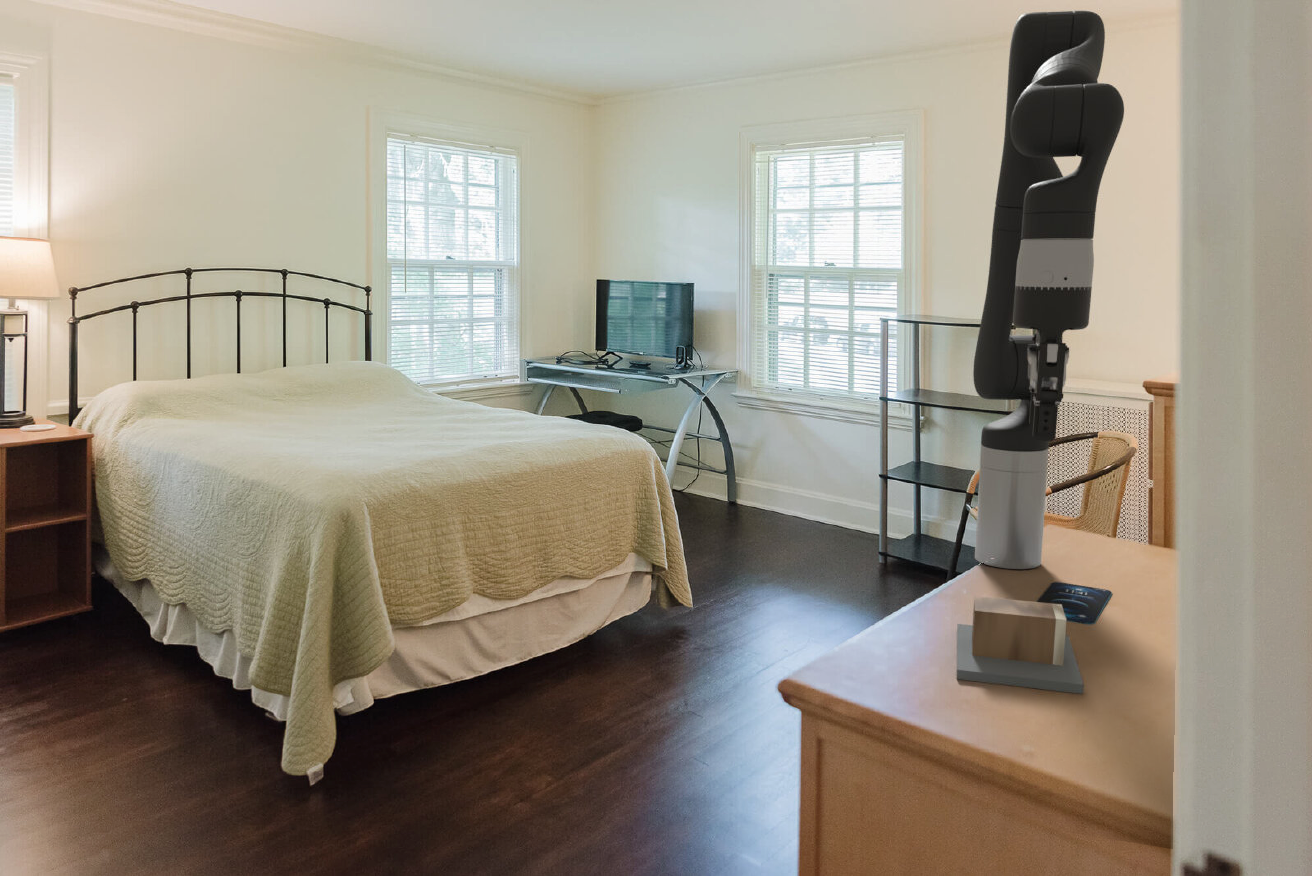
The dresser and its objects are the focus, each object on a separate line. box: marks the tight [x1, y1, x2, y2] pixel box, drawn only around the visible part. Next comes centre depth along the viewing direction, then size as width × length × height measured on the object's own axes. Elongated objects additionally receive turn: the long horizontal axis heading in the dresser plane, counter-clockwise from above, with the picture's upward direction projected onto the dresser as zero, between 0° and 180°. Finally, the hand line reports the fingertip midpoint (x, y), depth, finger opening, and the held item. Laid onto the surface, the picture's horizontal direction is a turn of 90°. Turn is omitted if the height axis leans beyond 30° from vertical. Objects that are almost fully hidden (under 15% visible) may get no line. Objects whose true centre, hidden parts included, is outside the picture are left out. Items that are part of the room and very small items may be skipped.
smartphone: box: [1036, 581, 1113, 626], centre depth 120 cm, size 8×1×15 cm
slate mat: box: [956, 623, 1084, 695], centre depth 101 cm, size 14×12×1 cm
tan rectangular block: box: [972, 595, 1067, 666], centre depth 101 cm, size 5×5×9 cm
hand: (1041, 433), depth 102 cm, fingers open, 8 cm apart
